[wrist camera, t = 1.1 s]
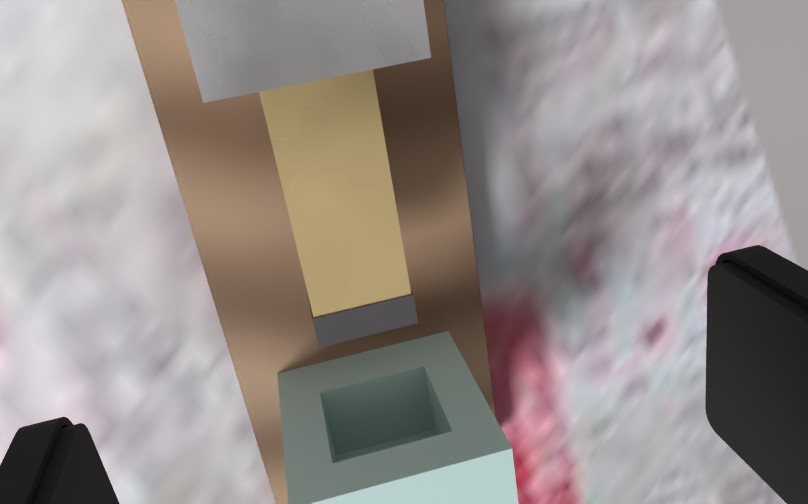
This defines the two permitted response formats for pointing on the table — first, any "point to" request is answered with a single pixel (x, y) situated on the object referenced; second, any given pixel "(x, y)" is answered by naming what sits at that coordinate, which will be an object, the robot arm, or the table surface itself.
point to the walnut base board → (271, 228)
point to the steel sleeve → (296, 40)
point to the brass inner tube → (341, 205)
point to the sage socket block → (393, 430)
